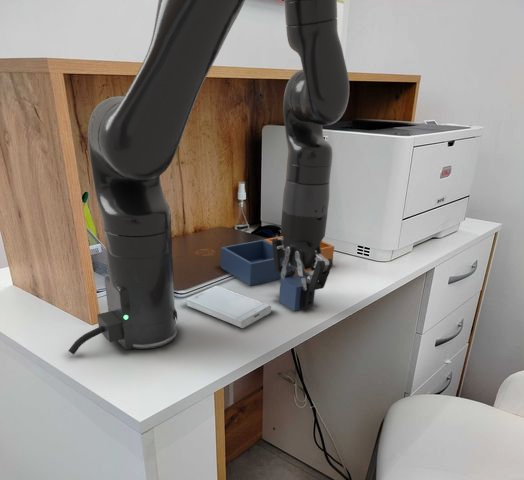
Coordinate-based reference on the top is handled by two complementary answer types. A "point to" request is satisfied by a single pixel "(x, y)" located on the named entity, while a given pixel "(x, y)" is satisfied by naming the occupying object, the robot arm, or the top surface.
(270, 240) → the amber bin
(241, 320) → the hard drive
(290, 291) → the blue block
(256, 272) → the blue bin
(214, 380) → the top surface
